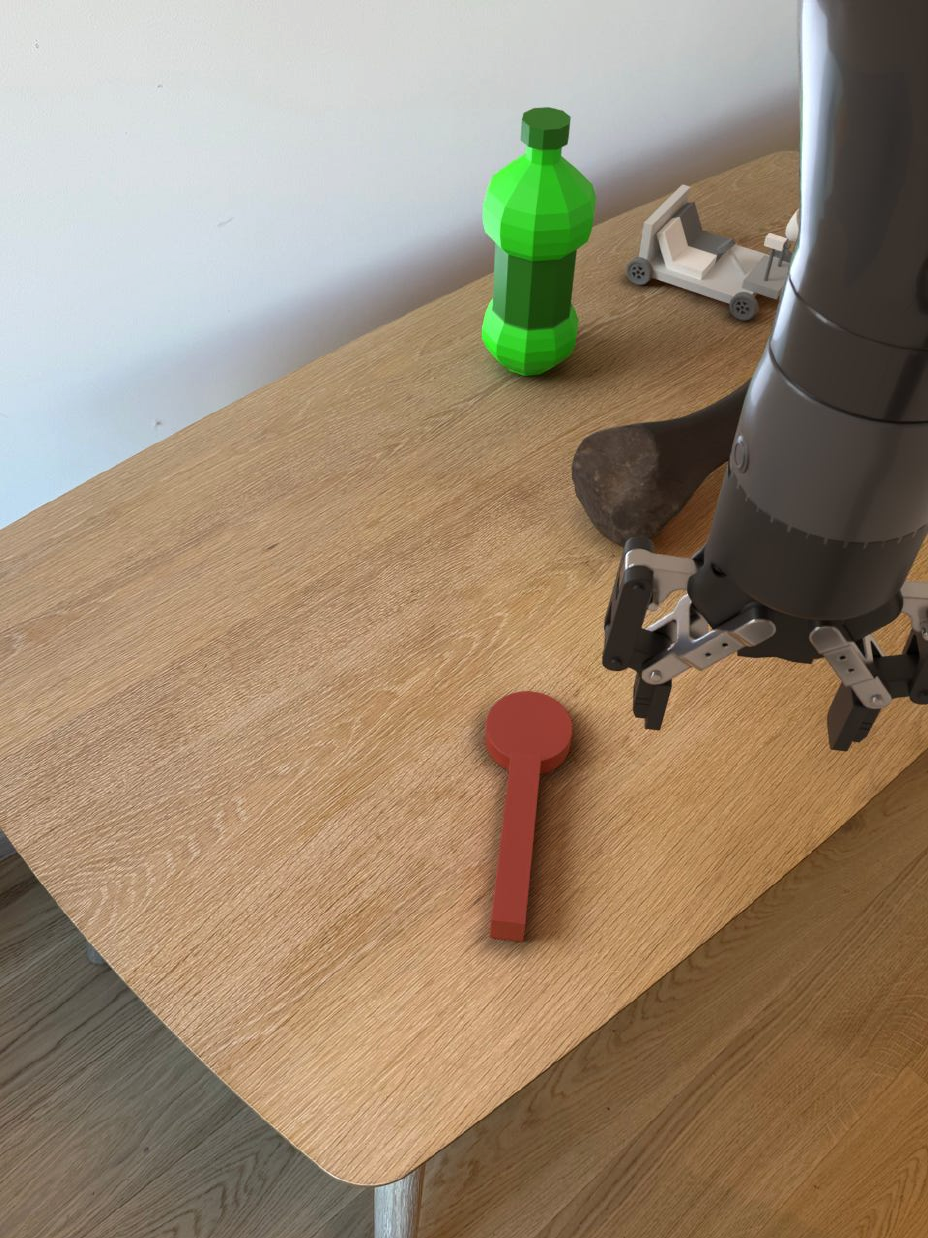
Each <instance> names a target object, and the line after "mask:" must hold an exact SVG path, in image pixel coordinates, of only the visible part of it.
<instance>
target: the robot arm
mask: <svg viewBox="0 0 928 1238" xmlns="http://www.w3.org/2000/svg"><path fill="white" fill-rule="evenodd" d="M796 47H797V48H796V50H797V51H796V52H797V74H798V76H797V77H798V119H799V121H798V123H799V125H798V126H799V127H798V129H799V130H798V204H799V205H798V206H799V207H798V209H799V229H798V236H797V239H796V242H794V246H793V249H792V251H791V253H792V255H791V258H790V263H789V266H788V270H787V273H786V277H785V281H784V284H783V288H782V292H781V295H780V296H779V298H778V299H779V300H778V303H777V307H776V310H775V314H774V318H773V322H772V325H771V329H770V332H769V336H768V339H767V342H766V345H765V348H764V351H763V353H762V354H761V357H760V359H759V361H758V363H757V365H756V367H755V370H754V372H753V374H752V376H751V378H752V379H751V382H750V384H749V387H748V390H747V394H746V397H745V400H744V404H743V408H742V412H741V416H740V419H739V423H738V427H737V430H736V434H735V438H734V442H733V445H732V449H731V453H730V457H729V461H728V462H727V465H726V469H725V473H724V477H723V480H722V484H721V487H720V492H719V494H718V499H717V502H716V503H717V504H716V505H715V506H716V507H715V510H714V514H713V518H712V521H711V524H710V525H711V526H710V529H709V533H708V536H707V539H706V541H705V543H704V544H703V546H701V547H700V549H698V550H697V551H696V552H695V553H694V554H693V555H692V556H691V557H690V558H687V557H682V556H675V555H668V554H662V553H661V554H660V553H655V543H654V541H652V540H650V539H648V538H646V537H642V536H637V537H633V538H630V539H629V540H628V541H627V542H626V543H625V546H624V547H623V550H622V554H621V558H620V561H619V565H618V569H617V572H616V575H615V579H614V583H613V586H612V591H611V594H610V599H609V602H608V605H607V609H606V613H605V616H604V619H603V631H604V641H603V650H602V656H601V664H602V666H603V667H604V669H606V670H608V671H611V672H623V671H625V670H627V669H631V670H633V671H635V672H636V674H635V678H634V682H633V687H632V713H633V715H634V717H635V718H636V719H644V724H643V725H644V730H649V731H658V732H660V731H661V728H662V725H663V722H664V718H665V714H666V710H667V706H668V703H669V699H670V696H671V692H672V688H673V679H674V678H676V677H677V676H679V675H681V674H683V673H685V672H686V671H688V670H690V669H692V668H693V669H695V670H696V671H699V672H701V671H704V670H706V669H708V668H710V667H712V666H714V665H715V664H717V663H719V662H721V661H722V660H724V659H726V658H728V657H729V656H731V655H732V654H735V653H736V656H737V657H740V658H751V659H763V658H764V659H765V658H766V659H767V658H776V659H781V660H784V661H788V662H791V663H797V664H806V665H813V662H814V660H820V659H825V661H826V662H827V663H828V664H829V666H830V667H831V670H833V672H834V673H835V674H836V676H837V677H838V679H839V681H840V683H839V686H838V689H837V691H836V693H835V695H834V697H833V700H832V701H831V703H830V706H829V708H828V711H827V715H826V729H827V736H828V744H829V745H828V746H829V749H830V750H831V751H838V752H848V751H849V749H850V748H851V746H852V744H853V743H861V742H862V741H863V740H865V739H866V738H867V737H868V735H869V734H870V731H871V730H872V728H873V726H874V724H875V722H876V720H877V718H878V716H879V714H880V712H881V710H882V709H884V708H886V707H888V706H890V705H891V703H892V700H895V699H900V698H909V700H910V701H911V702H912V703H913V704H914V705H920V706H926V705H928V581H915V580H912V581H911V580H907V577H908V576H909V573H910V572H911V569H912V567H913V564H914V563H915V560H916V559H917V556H918V554H919V552H920V550H921V548H922V546H923V544H924V542H925V539H926V538H927V536H928V0H796ZM677 591H686V594H685V595H683V596H682V597H681V598H680V599H679V600H678V602H677V603H676V604H675V605H676V606H675V608H674V609H673V610H672V611H671V612H669V613H668V614H666V615H665V616H663V617H662V618H660V619H658V620H657V621H655V622H654V623H652V624H650V625H649V626H646V628H643V625H644V622H645V618H646V615H647V612H648V611H649V612H657V611H658V610H659V609H660V604H662V603H664V602H665V601H666V600H667V599H668V597H669V596H670V595H671V594H672V593H673V592H677ZM901 613H902V614H905V615H906V616H908V618H909V624H910V628H911V629H910V632H909V634H908V637H907V639H906V642H905V643H904V646H903V649H902V651H901V654H892V655H885V653H884V651H883V649H882V648H881V646H880V645H879V643H878V642H877V641H876V639H875V637H874V636H873V634H874V633H875V632H877V631H878V630H880V629H882V628H884V627H886V626H888V625H889V624H891V623H893V622H894V621H895V620H896V619H897V618H898V617H899V616H900V615H901ZM709 627H710V628H711V629H712V630H711V631H709Z"/></svg>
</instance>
